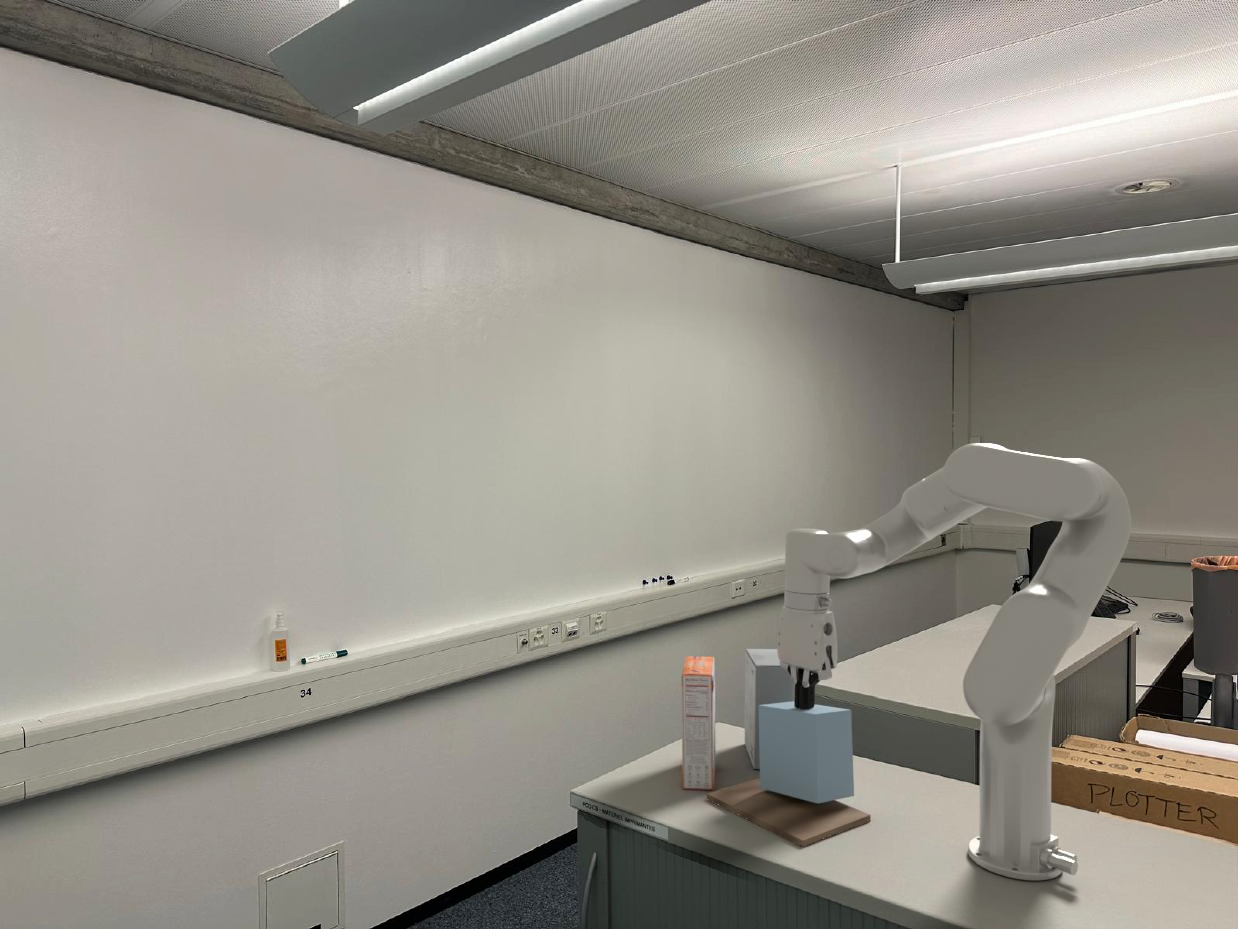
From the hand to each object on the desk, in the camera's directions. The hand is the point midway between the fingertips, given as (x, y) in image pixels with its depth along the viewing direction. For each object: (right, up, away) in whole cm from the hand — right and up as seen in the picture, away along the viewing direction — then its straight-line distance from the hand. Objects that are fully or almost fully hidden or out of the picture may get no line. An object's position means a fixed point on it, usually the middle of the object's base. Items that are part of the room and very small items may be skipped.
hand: (804, 707), depth 145 cm
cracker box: (-17, -16, +12) cm, 26 cm away
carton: (+4, -8, +3) cm, 9 cm away
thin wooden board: (-4, -16, -3) cm, 17 cm away
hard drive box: (-2, -16, +22) cm, 28 cm away
